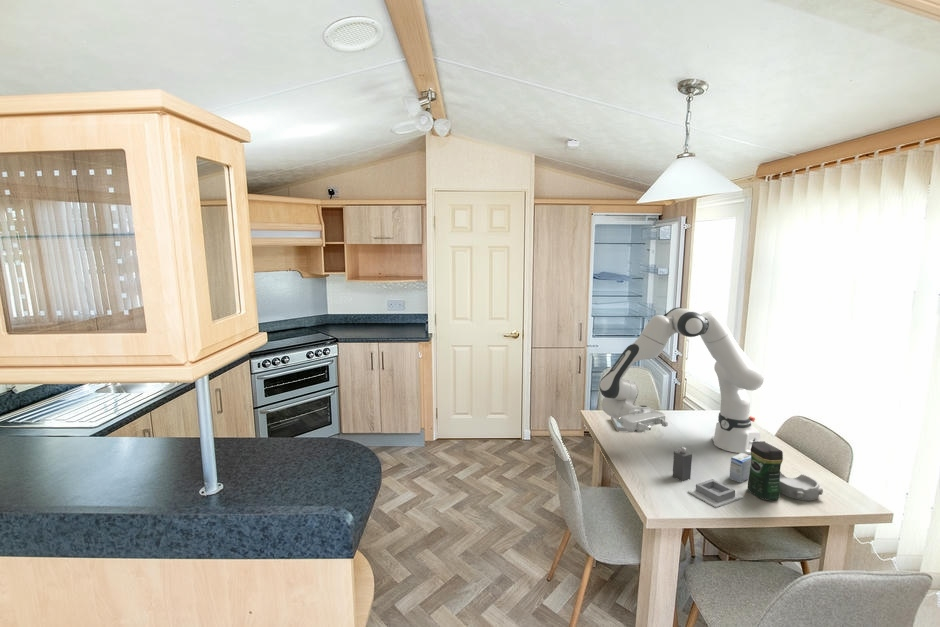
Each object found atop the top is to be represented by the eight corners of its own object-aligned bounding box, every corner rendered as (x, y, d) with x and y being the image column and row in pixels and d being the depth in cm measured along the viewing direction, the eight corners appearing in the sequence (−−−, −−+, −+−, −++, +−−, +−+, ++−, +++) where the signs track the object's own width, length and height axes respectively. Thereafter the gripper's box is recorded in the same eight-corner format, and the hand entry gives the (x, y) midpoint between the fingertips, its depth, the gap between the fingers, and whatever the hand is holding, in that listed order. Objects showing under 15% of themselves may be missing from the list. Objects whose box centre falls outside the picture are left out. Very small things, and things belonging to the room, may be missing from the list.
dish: (762, 482, 170) (764, 469, 170) (800, 482, 170) (802, 469, 169) (788, 503, 156) (789, 489, 155) (829, 503, 156) (831, 490, 155)
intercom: (632, 406, 241) (646, 424, 216) (632, 414, 241) (645, 433, 217) (607, 406, 242) (617, 423, 217) (606, 413, 242) (617, 432, 218)
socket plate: (713, 483, 169) (714, 476, 168) (742, 498, 159) (743, 490, 158) (687, 492, 163) (688, 484, 162) (715, 507, 153) (716, 499, 152)
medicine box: (739, 473, 177) (741, 452, 176) (751, 477, 173) (753, 456, 172) (728, 478, 173) (730, 457, 171) (741, 483, 169) (743, 461, 168)
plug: (680, 474, 176) (682, 444, 175) (690, 479, 172) (692, 449, 171) (672, 476, 174) (674, 446, 173) (682, 481, 170) (684, 451, 169)
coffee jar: (783, 501, 157) (788, 450, 155) (762, 502, 156) (767, 451, 154) (763, 486, 167) (767, 438, 164) (743, 487, 166) (747, 439, 163)
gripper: (614, 411, 189) (639, 423, 177) (649, 404, 198) (676, 415, 186) (613, 426, 190) (638, 438, 178) (648, 418, 199) (675, 429, 187)
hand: (658, 426), depth 182 cm, fingers open, 8 cm apart
